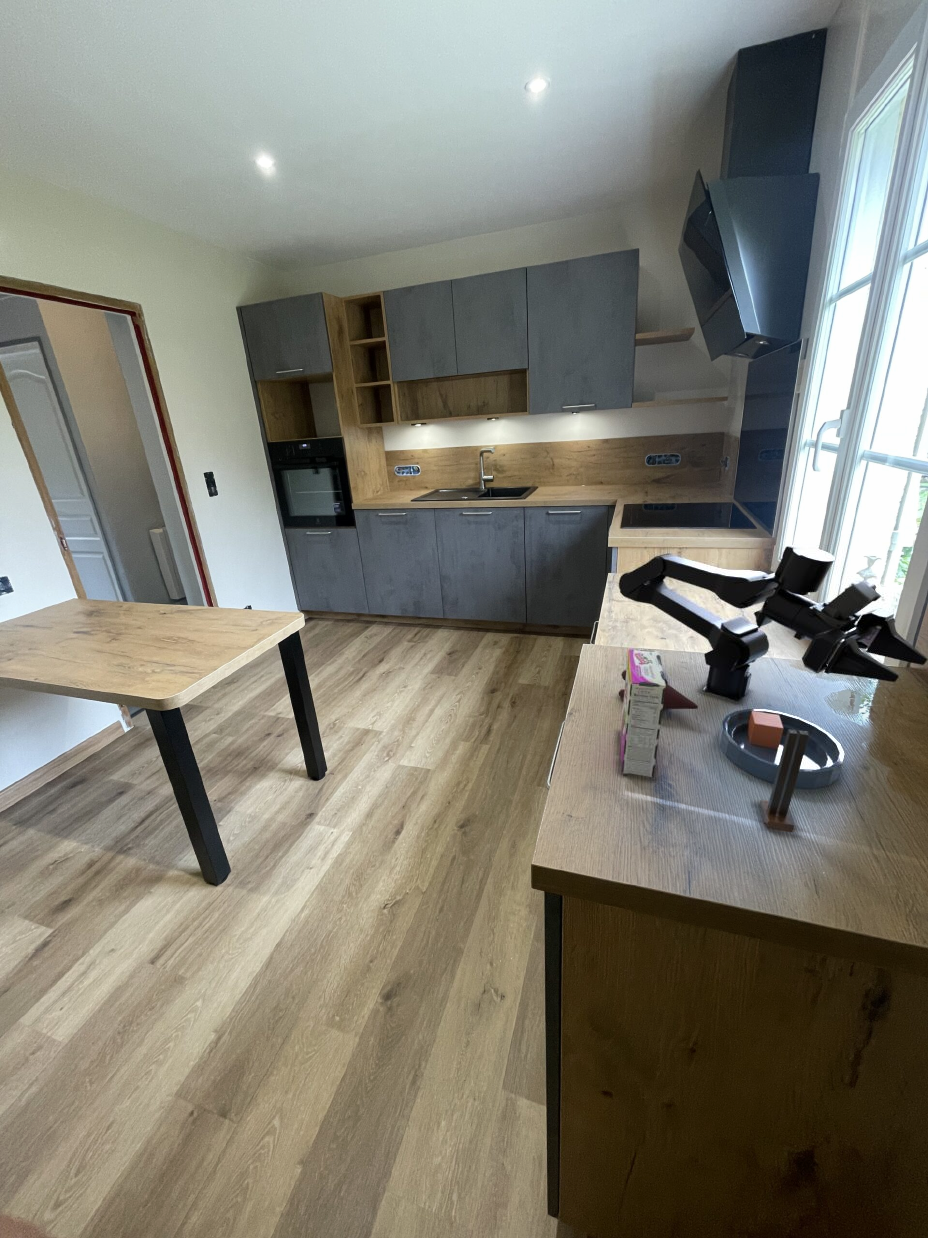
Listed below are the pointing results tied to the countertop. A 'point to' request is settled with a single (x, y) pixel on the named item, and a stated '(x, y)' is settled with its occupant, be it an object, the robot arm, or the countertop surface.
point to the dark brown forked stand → (785, 782)
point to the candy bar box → (642, 712)
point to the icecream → (669, 697)
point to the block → (765, 729)
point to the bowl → (763, 761)
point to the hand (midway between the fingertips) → (912, 670)
